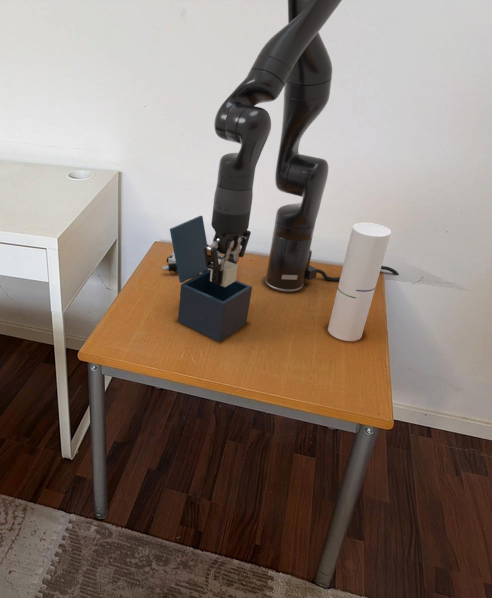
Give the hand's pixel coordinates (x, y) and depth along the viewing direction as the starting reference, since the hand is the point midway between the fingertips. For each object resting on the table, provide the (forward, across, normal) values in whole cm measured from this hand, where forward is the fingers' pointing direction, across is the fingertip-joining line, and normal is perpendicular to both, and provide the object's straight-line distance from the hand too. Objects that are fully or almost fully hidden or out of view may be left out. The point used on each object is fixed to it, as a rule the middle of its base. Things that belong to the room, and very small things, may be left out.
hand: (223, 280), depth 125 cm
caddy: (+12, 0, +2) cm, 12 cm away
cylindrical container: (+12, +18, -22) cm, 31 cm away
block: (0, 0, 0) cm, 0 cm away
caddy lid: (-4, 0, +9) cm, 10 cm away
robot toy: (+12, +17, +20) cm, 29 cm away
